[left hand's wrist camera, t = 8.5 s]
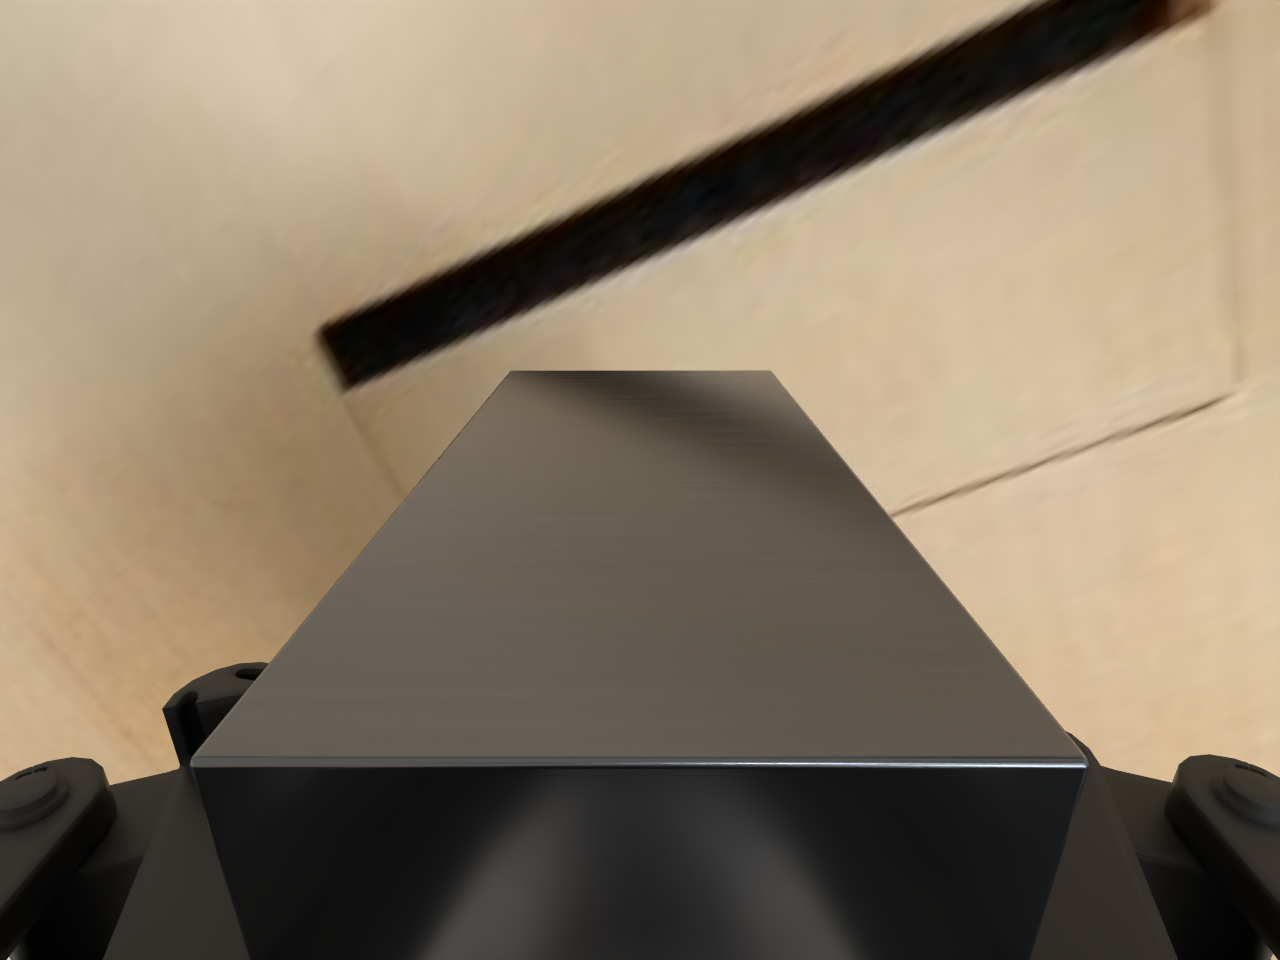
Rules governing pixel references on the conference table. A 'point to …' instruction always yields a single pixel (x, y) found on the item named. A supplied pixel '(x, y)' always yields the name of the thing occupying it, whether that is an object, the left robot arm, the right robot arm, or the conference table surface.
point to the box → (639, 710)
